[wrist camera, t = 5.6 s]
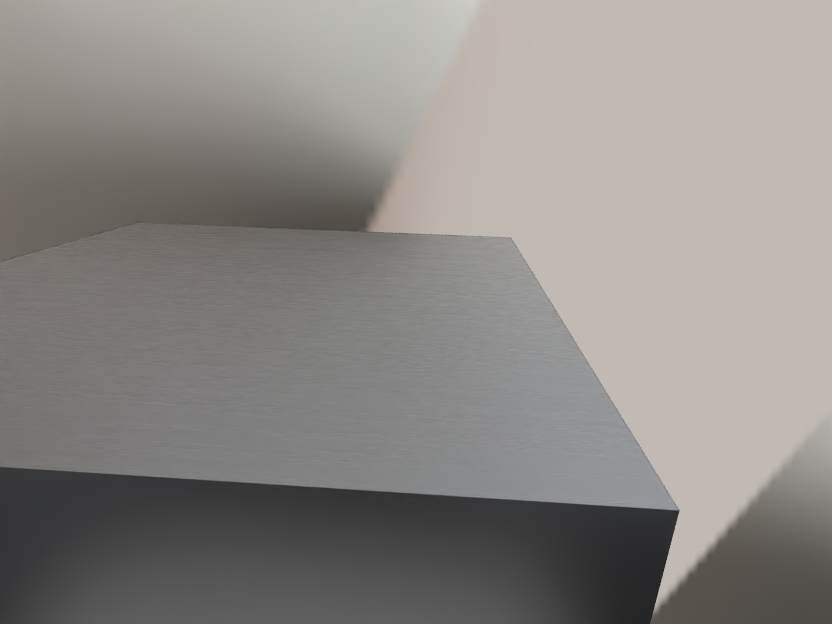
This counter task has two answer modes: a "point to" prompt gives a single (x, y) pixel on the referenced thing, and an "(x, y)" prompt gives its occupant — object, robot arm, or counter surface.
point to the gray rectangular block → (310, 437)
